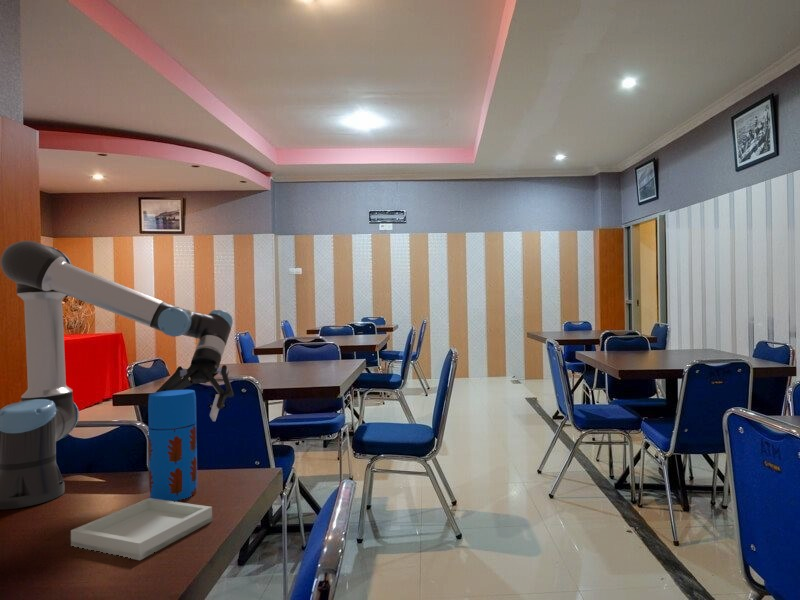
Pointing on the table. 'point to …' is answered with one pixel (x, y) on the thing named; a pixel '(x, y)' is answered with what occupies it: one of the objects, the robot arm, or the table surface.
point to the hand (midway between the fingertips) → (186, 419)
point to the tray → (141, 528)
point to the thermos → (172, 444)
